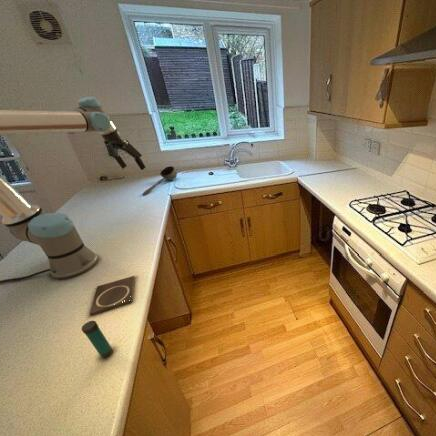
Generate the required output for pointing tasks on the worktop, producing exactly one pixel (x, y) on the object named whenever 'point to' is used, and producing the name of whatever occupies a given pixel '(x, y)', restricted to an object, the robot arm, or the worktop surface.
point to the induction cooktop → (113, 295)
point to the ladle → (164, 177)
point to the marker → (97, 339)
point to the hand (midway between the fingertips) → (134, 168)
